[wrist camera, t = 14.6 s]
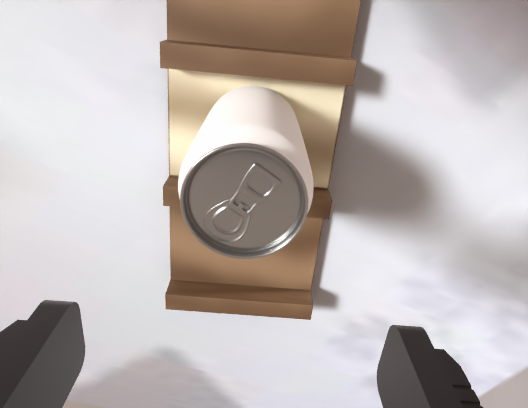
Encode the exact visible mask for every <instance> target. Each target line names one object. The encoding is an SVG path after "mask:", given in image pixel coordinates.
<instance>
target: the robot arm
mask: <svg viewBox="0 0 528 408" xmlns="http://www.w3.org/2000/svg"><path fill="white" fill-rule="evenodd" d="M84 357H85V342H84V335H83V328H82V322H81V315H80V309H79V305H78V304H77V303H76V302H66V301H52V300H44V301H43V302H41V303H40V304H39V306H38V307H37V308H36V310H35V311H34V312H33V314H32V315H31V316H30V318H29V319H28V320H17V321H15V322H14V323H13V324H11V325H10V326H8V327H7V328H6V329H4V330H3V331H1V332H0V408H62V407H63V405H64V403H65V401H66V399H67V397H68V395H69V393H70V391H71V389H72V387H73V385H74V383H75V381H76V379H77V377H78V375H79V373H80V371H81V368H82V365H83V362H84ZM377 385H378V391H379V395H380V398H381V402H382V405H383V408H483V407H482V406H480V401H479V399H478V397H477V396H476V394H475V392H474V390H472V389H471V385H470V383H469V381H468V379H467V377H466V375H465V374H464V372H463V370H462V368H461V366H460V365H459V364H458V363H457V362H456V361H455V360H454V359H453V358H452V357H451V356H450V355H449V354H448V353H447V352H446V351H445V350H444V349H434V347H433V345H432V343H431V341H430V339H429V337H428V335H427V333H426V331H425V330H424V329H423V328H422V327H415V326H400V325H392V326H391V327H390V328H389V331H388V334H387V337H386V341H385V344H384V348H383V351H382V354H381V358H380V361H379V364H378V369H377Z"/></svg>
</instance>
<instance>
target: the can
mask: <svg viewBox="0 0 528 408" xmlns="http://www.w3.org/2000/svg"><path fill="white" fill-rule="evenodd" d="M178 192H179V198H180V207H181V212H182V216H183V219H184V221H185V223H186V225H187V227H188V229H189V230H190V232H191V233H192V234H193V236H194V237H195V238H196V239H197V240H198V241H199V242H200V243H201V244H203V245H204V246H205V247H207V248H208V249H210V250H212V251H214V252H216V253H218V254H220V255H223V256H227V257H231V258H236V259H255V258H261V257H265V256H268V255H271V254H273V253H275V252H277V251H279V250H281V249H282V248H284V247H285V246H287V245H288V244H289V243H290V242H291V241H292V240H293V239H294V238H295V237H296V236H297V235H298V233H299V232H300V230H301V228H302V227H303V225H304V222H305V220H306V216H307V213H308V211H309V209H310V206H311V203H312V199H313V176H312V170H311V166H310V162H309V159H308V155H307V151H306V148H305V144H304V141H303V137H302V134H301V130H300V127H299V124H298V121H297V118H296V115H295V113H294V111H293V109H292V107H291V106H290V105H289V103H288V102H287V101H286V100H285V99H284V98H283V97H282V96H281V95H279V94H278V93H276V92H275V91H273V90H271V89H268V88H265V87H261V86H243V87H239V88H236V89H233V90H231V91H229V92H227V93H226V94H225V95H223V96H222V97H221V98H220V99H219V100H218V101H217V102H216V103H215V104H214V106H213V107H212V109H211V110H210V112H209V114H208V116H207V117H206V119H205V121H204V123H203V124H202V126H201V128H200V130H199V131H198V133H197V135H196V137H195V139H194V141H193V142H192V144H191V146H190V148H189V150H188V152H187V154H186V156H185V158H184V160H183V163H182V165H181V169H180V173H179V179H178Z"/></svg>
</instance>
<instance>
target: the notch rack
mask: <svg viewBox="0 0 528 408" xmlns="http://www.w3.org/2000/svg"><path fill="white" fill-rule="evenodd" d="M360 2H361V0H167V40H165V41H161V42H160V68H167V69H168V121H169V177H168V179H167V181H166V182H165V184H164V186H163V205H164V206H170V261H171V280H170V283H169V286H168V289H167V292H166V294H165V297H166V309H172V310H185V311H199V312H213V313H226V314H240V315H254V316H267V317H281V318H295V319H308V320H311V314H312V309H313V302H312V296H311V285H312V279H313V274H314V268H315V262H316V256H317V250H318V245H319V239H320V233H321V227H322V222H323V219H329V214H330V209H331V203H332V199H331V196H330V194H329V191H328V187H329V181H330V175H331V170H332V164H333V158H334V152H335V147H336V141H337V135H338V129H339V124H340V118H341V112H342V106H343V100H344V95H345V89H346V85H349V86H353V81H354V76H355V70H356V65H357V60H355V59H353V58H351V54H352V49H353V43H354V37H355V31H356V25H357V20H358V14H359V8H360ZM243 86H261V87H265V88H268V89H271V90H273V91H275V92H276V93H278V94H279V95H281V96H282V97H283V98H284V99H285V100H286V101H287V102H288V103H289V105H290V106H291V107H292V109H293V111H294V113H295V115H296V118H297V121H298V124H299V127H300V130H301V134H302V137H303V141H304V144H305V148H306V151H307V155H308V159H309V162H310V166H311V170H312V176H313V199H312V203H311V206H310V209H309V211H308V213H307V216H306V220H305V222H304V225H303V227H302V228H301V230H300V232H299V233H298V235H297V236H296V237H295V238H294V239H293V240H292V241H291V242H290V243H289V244H288V245H287V246H285V247H284V248H282V249H281V250H279V251H277V252H275V253H273V254H271V255H268V256H265V257H261V258H255V259H236V258H231V257H227V256H223V255H220V254H218V253H216V252H214V251H212V250H210V249H208V248H207V247H205V246H204V245H203V244H201V243H200V242H199V241H198V240H197V239H196V238H195V237H194V236H193V234H192V233H191V232H190V230H189V229H188V227H187V225H186V223H185V221H184V219H183V216H182V212H181V207H180V198H179V192H178V179H179V173H180V169H181V165H182V163H183V160H184V158H185V156H186V154H187V152H188V150H189V148H190V146H191V144H192V142H193V141H194V139H195V137H196V135H197V133H198V131H199V130H200V128H201V126H202V124H203V123H204V121H205V119H206V117H207V116H208V114H209V112H210V110H211V109H212V107H213V106H214V104H215V103H216V102H217V101H218V100H219V99H220V98H221V97H222V96H223V95H225V94H226V93H227V92H229V91H231V90H233V89H236V88H239V87H243Z"/></svg>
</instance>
